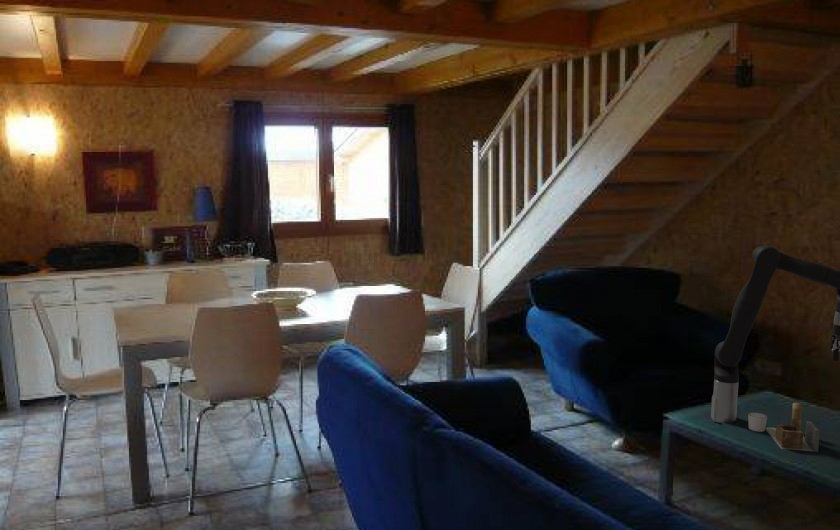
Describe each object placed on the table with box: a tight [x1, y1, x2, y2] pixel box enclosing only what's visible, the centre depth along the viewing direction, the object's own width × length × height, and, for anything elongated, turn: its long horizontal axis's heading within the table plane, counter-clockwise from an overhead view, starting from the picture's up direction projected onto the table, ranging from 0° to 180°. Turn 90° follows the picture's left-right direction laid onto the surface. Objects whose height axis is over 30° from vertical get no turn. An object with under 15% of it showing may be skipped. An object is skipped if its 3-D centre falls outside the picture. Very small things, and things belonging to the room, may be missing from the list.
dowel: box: [790, 402, 803, 430], centre depth 268 cm, size 3×3×12 cm
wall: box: [804, 420, 821, 453], centre depth 256 cm, size 2×10×8 cm, turn 167°
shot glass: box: [747, 411, 768, 432], centre depth 274 cm, size 7×7×7 cm
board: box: [765, 426, 817, 453], centre depth 264 cm, size 12×23×1 cm, turn 167°
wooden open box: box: [775, 423, 804, 448], centre depth 257 cm, size 7×8×6 cm
